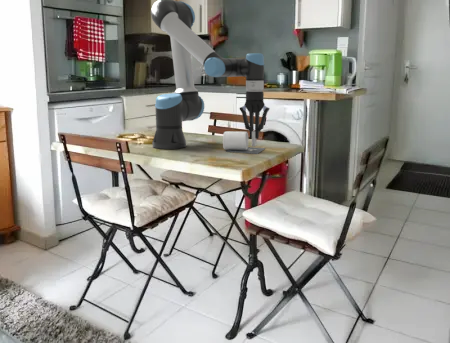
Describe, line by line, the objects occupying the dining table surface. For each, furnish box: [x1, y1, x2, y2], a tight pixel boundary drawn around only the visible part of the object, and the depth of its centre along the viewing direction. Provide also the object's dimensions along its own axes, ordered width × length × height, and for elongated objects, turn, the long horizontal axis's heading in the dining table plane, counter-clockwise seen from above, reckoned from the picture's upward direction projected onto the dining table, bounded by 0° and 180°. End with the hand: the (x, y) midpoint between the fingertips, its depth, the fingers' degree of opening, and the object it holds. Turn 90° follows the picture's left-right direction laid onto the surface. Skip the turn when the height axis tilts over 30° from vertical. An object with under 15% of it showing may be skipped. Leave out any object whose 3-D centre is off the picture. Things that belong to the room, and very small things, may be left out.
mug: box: [222, 130, 249, 151], centre depth 197 cm, size 12×10×8 cm
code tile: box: [225, 146, 266, 155], centre depth 196 cm, size 14×14×1 cm
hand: (254, 145), depth 195 cm, fingers closed
